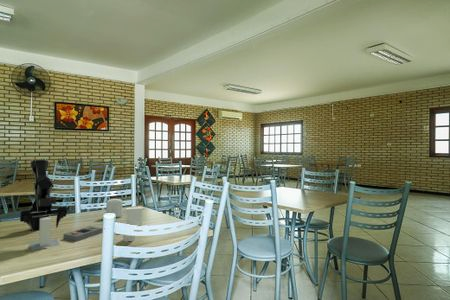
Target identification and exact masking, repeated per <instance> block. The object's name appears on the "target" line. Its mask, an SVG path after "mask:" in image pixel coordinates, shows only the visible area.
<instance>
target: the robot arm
mask: <svg viewBox="0 0 450 300" xmlns="http://www.w3.org/2000/svg"><path fill="white" fill-rule="evenodd" d="M29 163H30V167H29V168H30V169H31V172H32V174H33V175H34V182H33V191H34V202H33V203H32V204H31V207H30V209H22V210H20V213H19V214H20V215H19V221H20V222H21V223H22V222H23V223H26V224H27V225H28V226H29V228H30V231H32V232H34V231H39V227H40V218H44V217H50V216H51V215H56V218H55V220H56V222H55V229H56V228H58V227H59V224H60V221H61V219H64V218H65V217H67V214H68V207H67V206H66V205H65V206H64V205H63V206H57V208H56V209H53V205H55V204H57V196H52V197H51V193H52V189H53V188H54V187H55V184H53V182H52V181H51V180H50V178H49V177H48V176H47V170H48V168H49V160H46V159H33V160H31V161H30V162H29ZM52 209H53V210H52Z"/></svg>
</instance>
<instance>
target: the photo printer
mask: <svg viewBox="0 0 450 300" xmlns="http://www.w3.org/2000/svg"><path fill="white" fill-rule="evenodd" d="M105 205H106V207H105V214H106V213H115V214H116V217H115V218H122V217H123V200H122V199H121V198H111V199H108V200H107V201H106V204H105Z"/></svg>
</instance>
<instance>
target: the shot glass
mask: <svg viewBox="0 0 450 300" xmlns="http://www.w3.org/2000/svg"><path fill="white" fill-rule="evenodd" d="M122 237H123V238H122V240H124V241H132V242H134V241H133V240H135V241H136V237H135V236H126V235H123V234H122ZM124 241H123V242H124Z"/></svg>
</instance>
